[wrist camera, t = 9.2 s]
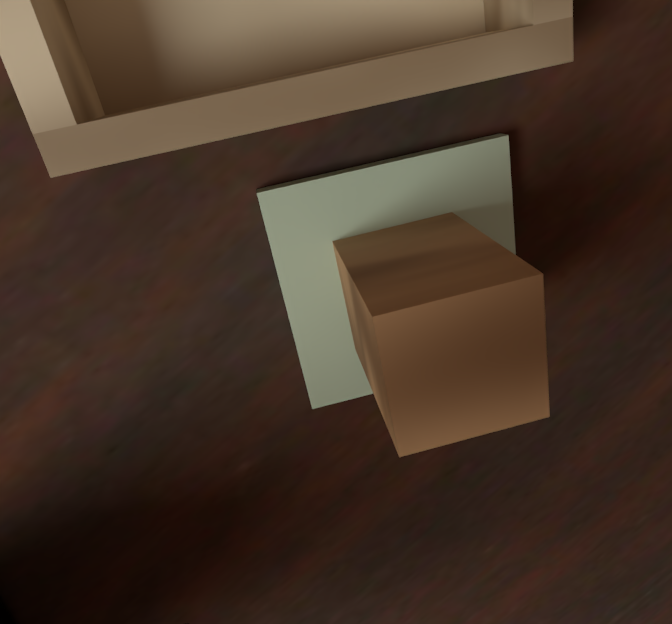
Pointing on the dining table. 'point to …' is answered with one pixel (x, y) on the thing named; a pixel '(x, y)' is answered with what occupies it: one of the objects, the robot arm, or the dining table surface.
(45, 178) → the dining table surface
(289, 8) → the access box
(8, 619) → the robot arm
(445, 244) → the teak block
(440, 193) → the pad
